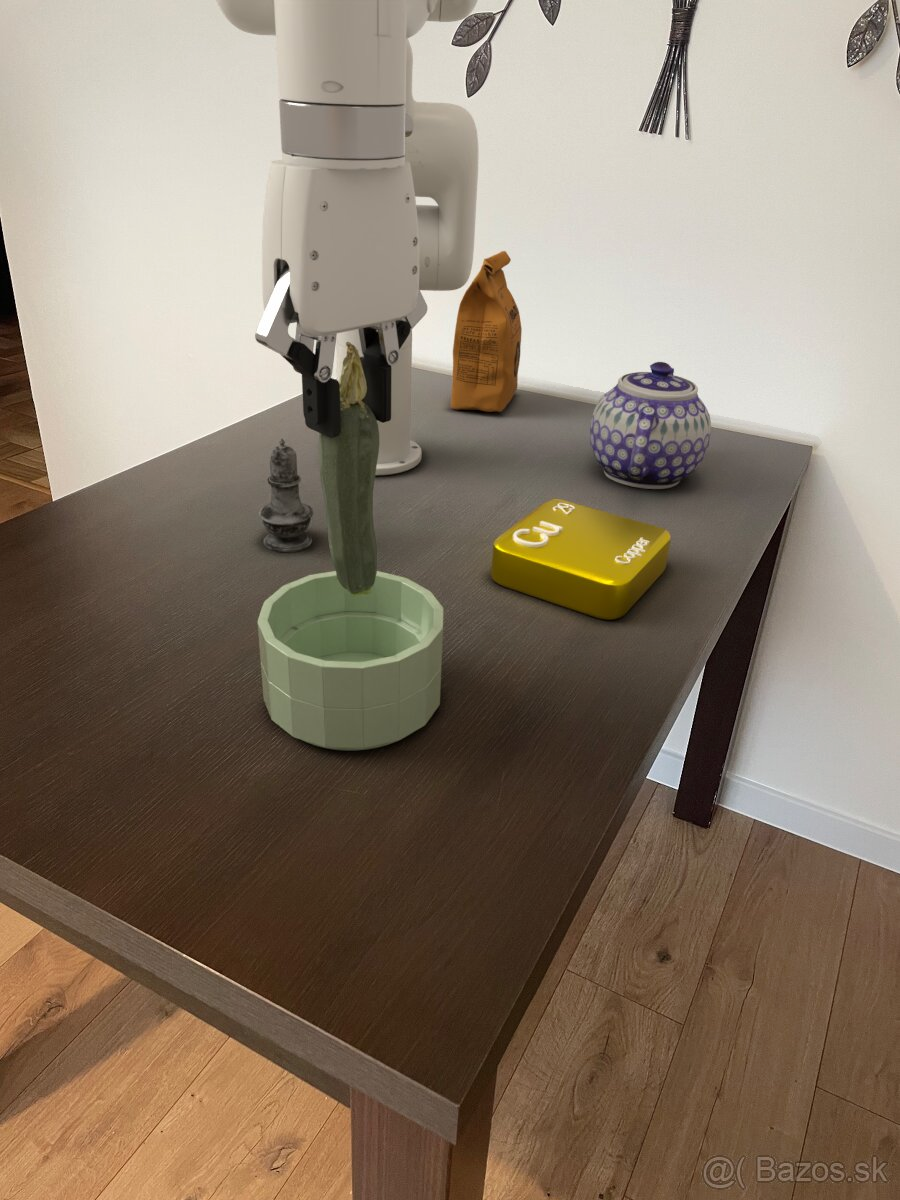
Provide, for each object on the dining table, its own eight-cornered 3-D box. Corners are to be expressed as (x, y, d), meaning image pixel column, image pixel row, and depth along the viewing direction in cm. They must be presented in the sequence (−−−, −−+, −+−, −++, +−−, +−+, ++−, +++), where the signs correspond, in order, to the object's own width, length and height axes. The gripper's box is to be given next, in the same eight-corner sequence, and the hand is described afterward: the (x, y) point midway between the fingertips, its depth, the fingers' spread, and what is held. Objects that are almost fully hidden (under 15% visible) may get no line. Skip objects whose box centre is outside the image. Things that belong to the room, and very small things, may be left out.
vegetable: (368, 617, 70) (369, 358, 60) (314, 609, 71) (306, 351, 61) (384, 589, 74) (387, 341, 64) (332, 582, 75) (327, 335, 65)
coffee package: (526, 396, 148) (538, 252, 136) (503, 420, 138) (514, 267, 126) (468, 387, 151) (475, 245, 139) (441, 410, 141) (446, 259, 129)
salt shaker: (324, 536, 103) (321, 435, 97) (295, 558, 99) (290, 453, 92) (280, 524, 105) (274, 424, 99) (250, 545, 101) (241, 442, 94)
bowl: (231, 695, 78) (222, 609, 73) (363, 632, 87) (362, 553, 82) (340, 783, 69) (338, 692, 65) (475, 703, 78) (480, 618, 74)
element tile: (616, 626, 89) (623, 583, 87) (483, 581, 96) (486, 540, 94) (670, 565, 101) (678, 526, 98) (548, 529, 107) (552, 491, 105)
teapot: (687, 523, 110) (711, 402, 102) (563, 499, 114) (576, 381, 106) (712, 451, 130) (733, 345, 123) (605, 433, 135) (619, 330, 127)
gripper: (403, 128, 63) (400, 387, 73) (188, 135, 53) (217, 436, 62) (482, 138, 59) (468, 413, 68) (265, 148, 48) (283, 470, 58)
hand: (348, 421), depth 65 cm, fingers closed on vegetable, 3 cm apart
